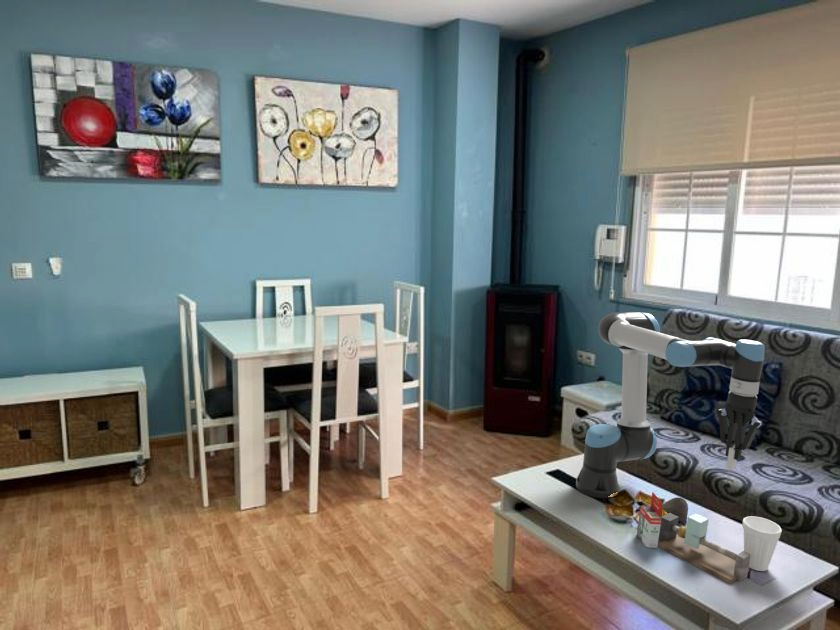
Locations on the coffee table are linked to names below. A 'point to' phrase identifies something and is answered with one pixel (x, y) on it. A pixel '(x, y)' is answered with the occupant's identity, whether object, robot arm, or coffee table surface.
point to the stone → (677, 508)
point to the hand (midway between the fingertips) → (730, 468)
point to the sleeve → (695, 530)
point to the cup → (760, 541)
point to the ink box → (650, 522)
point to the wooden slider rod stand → (703, 552)
